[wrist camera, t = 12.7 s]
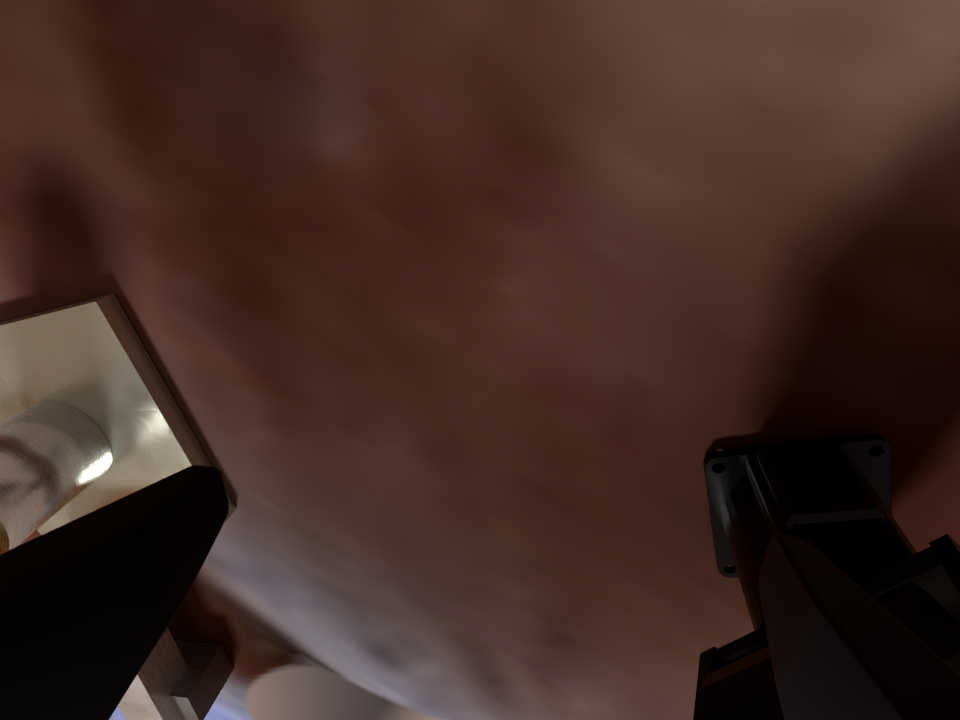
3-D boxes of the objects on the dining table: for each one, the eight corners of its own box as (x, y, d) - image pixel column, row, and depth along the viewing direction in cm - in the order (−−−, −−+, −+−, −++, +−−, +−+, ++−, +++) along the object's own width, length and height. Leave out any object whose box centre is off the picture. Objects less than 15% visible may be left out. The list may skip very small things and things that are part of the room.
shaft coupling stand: (326, 668, 34) (287, 757, 29) (28, 675, 40) (-40, 748, 36) (113, 293, 24) (8, 341, 20) (-233, 381, 31) (-370, 433, 26)
